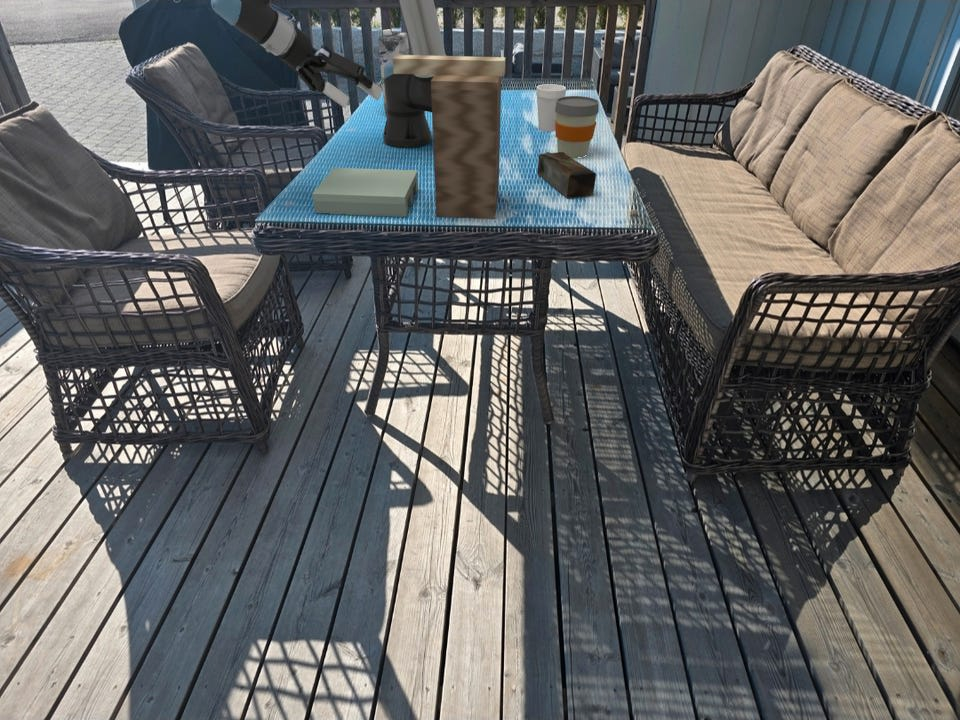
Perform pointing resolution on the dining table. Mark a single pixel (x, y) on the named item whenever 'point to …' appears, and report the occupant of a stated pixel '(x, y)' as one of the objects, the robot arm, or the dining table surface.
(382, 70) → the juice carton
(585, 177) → the beverage carton
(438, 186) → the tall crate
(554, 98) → the foam cup
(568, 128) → the reusable coffee cup
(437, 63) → the pine slat
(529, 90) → the dining table surface
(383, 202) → the grey-green flat box
